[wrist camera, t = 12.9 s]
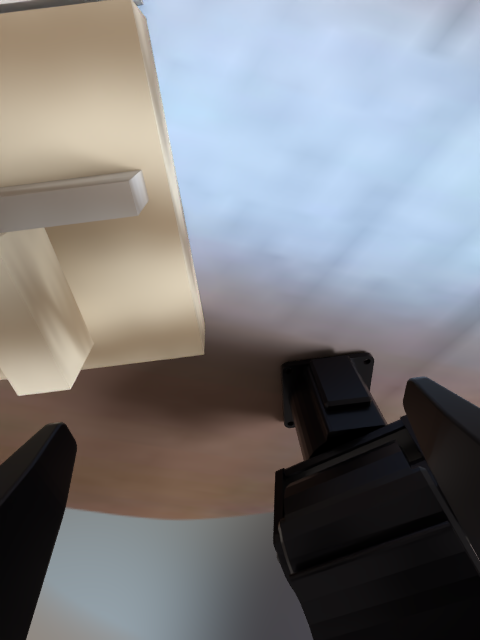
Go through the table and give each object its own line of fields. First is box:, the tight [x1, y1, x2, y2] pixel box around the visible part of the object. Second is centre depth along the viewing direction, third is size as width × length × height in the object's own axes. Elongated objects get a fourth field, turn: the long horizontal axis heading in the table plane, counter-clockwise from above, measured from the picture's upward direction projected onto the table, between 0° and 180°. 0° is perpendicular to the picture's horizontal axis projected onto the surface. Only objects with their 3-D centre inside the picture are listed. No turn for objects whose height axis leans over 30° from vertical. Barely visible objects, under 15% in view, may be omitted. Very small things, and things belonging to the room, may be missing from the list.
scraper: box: [0, 170, 149, 396], centre depth 14 cm, size 8×12×4 cm
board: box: [0, 0, 205, 380], centre depth 16 cm, size 15×14×3 cm
